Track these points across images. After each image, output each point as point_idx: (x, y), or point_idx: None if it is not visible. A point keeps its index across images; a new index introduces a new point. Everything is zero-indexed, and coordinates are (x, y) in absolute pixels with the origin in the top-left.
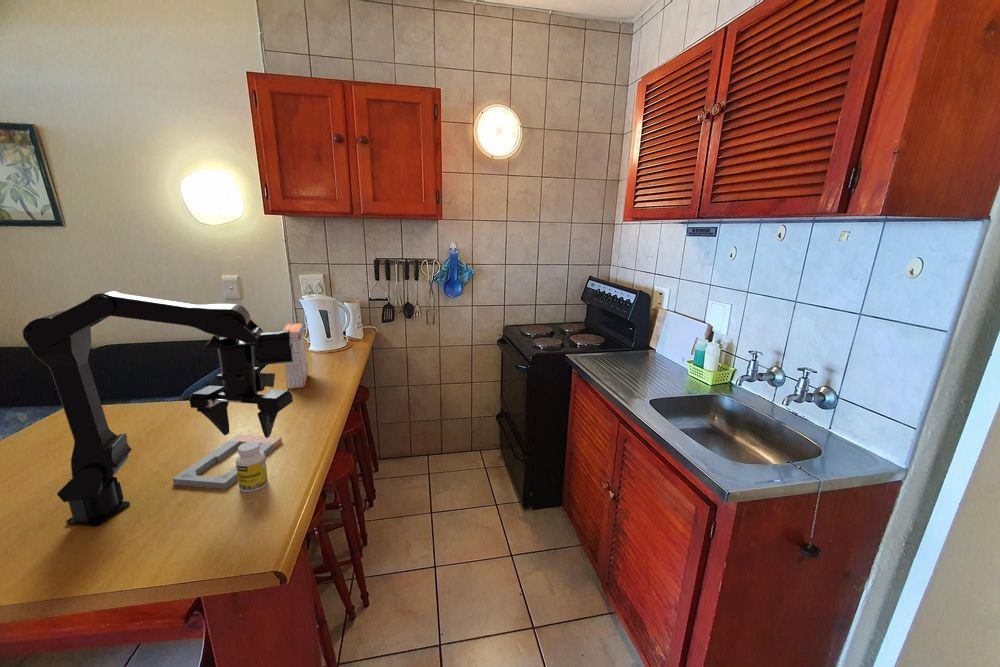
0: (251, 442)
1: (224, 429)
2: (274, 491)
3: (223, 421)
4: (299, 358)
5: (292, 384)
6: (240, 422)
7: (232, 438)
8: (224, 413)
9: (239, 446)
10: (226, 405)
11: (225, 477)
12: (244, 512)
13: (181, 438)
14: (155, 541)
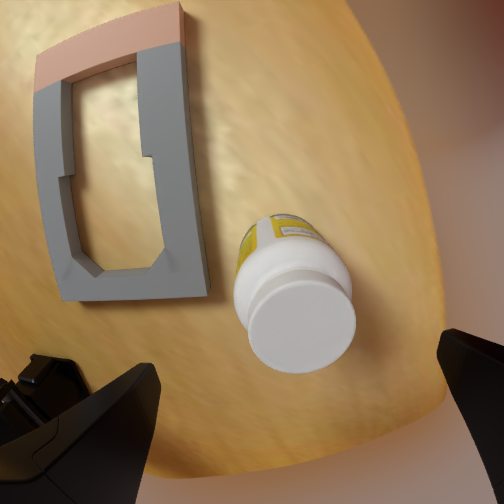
0: (291, 299)
1: (151, 422)
2: (362, 265)
3: (121, 459)
4: None
5: None
6: (14, 15)
7: (35, 79)
8: (76, 482)
9: (257, 350)
10: (14, 499)
11: (182, 270)
12: None
13: None
14: (223, 428)
